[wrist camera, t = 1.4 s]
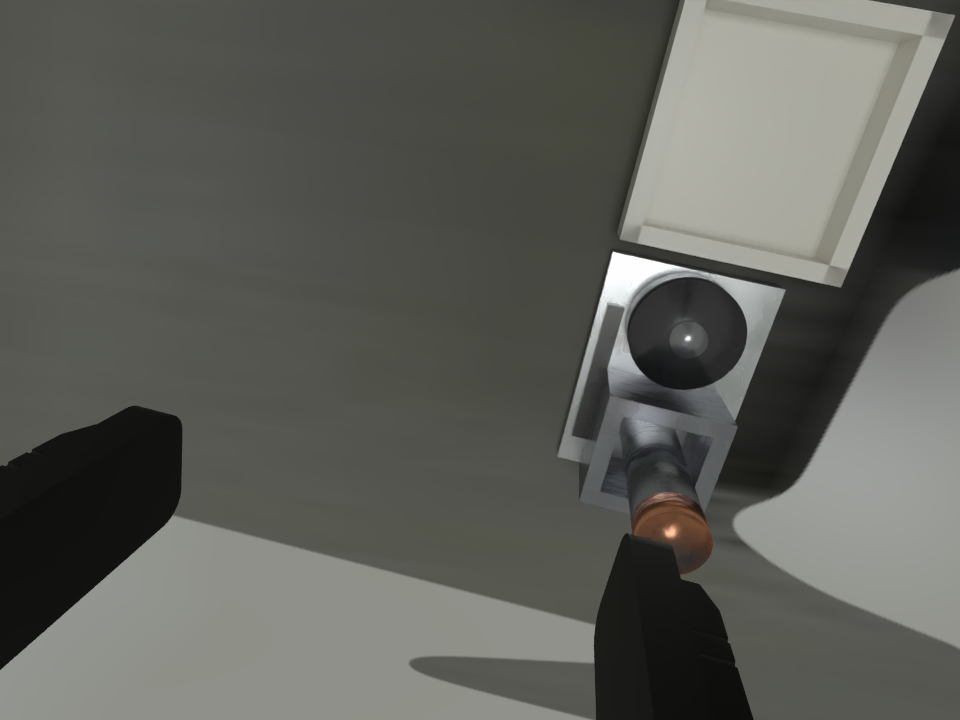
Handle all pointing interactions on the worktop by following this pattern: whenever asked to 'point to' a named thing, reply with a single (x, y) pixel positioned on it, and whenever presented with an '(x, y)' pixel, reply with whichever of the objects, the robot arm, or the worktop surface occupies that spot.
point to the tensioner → (665, 368)
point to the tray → (778, 129)
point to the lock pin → (663, 493)
